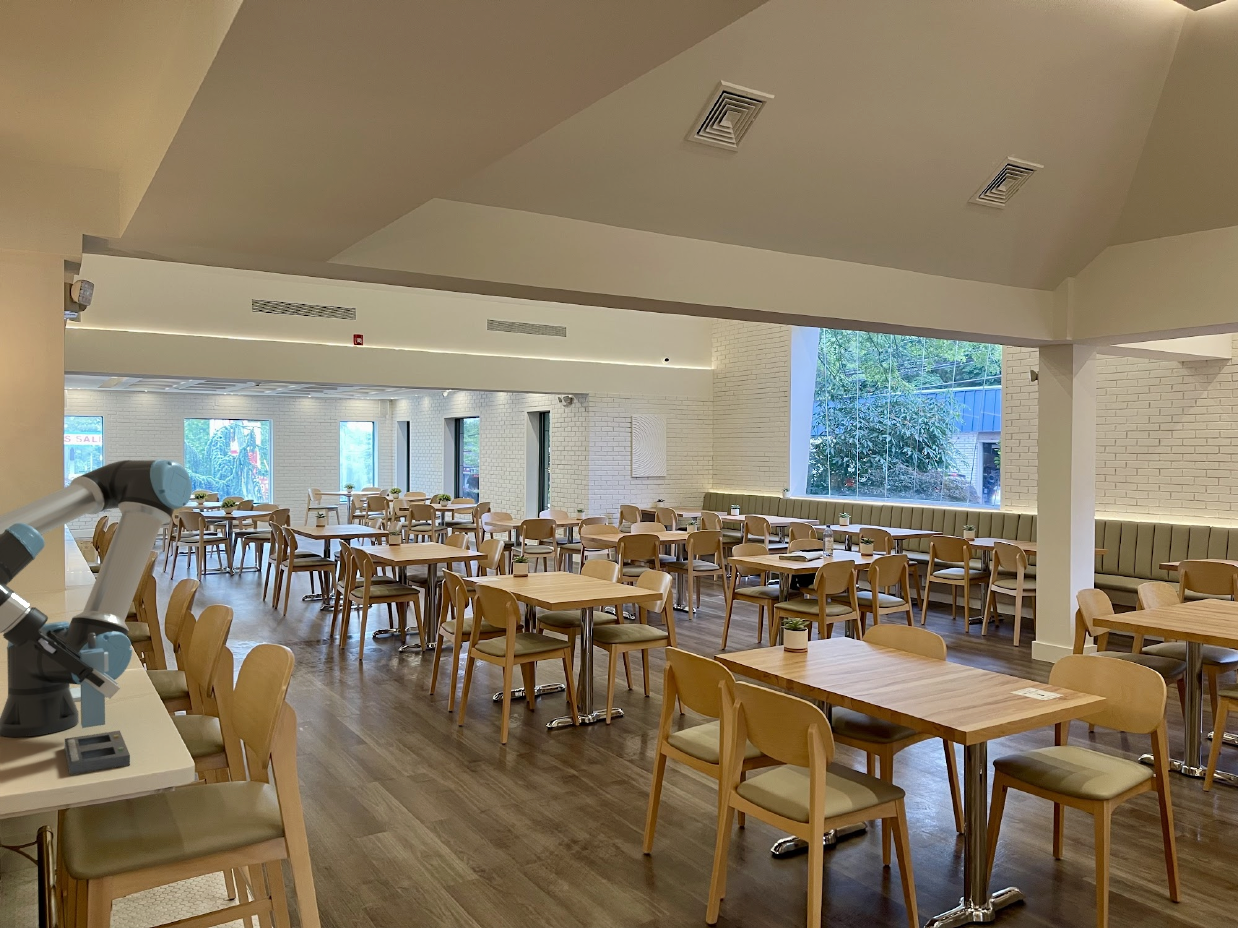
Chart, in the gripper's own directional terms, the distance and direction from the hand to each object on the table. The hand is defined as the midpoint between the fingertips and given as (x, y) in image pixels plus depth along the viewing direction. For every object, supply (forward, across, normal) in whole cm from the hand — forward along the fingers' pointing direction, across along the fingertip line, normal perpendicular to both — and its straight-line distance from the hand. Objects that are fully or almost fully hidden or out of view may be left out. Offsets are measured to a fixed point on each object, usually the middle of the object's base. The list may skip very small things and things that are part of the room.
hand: (113, 690), depth 185 cm
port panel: (+6, +5, -11) cm, 13 cm away
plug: (+2, 0, -7) cm, 7 cm away
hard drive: (+8, -54, -11) cm, 56 cm away
